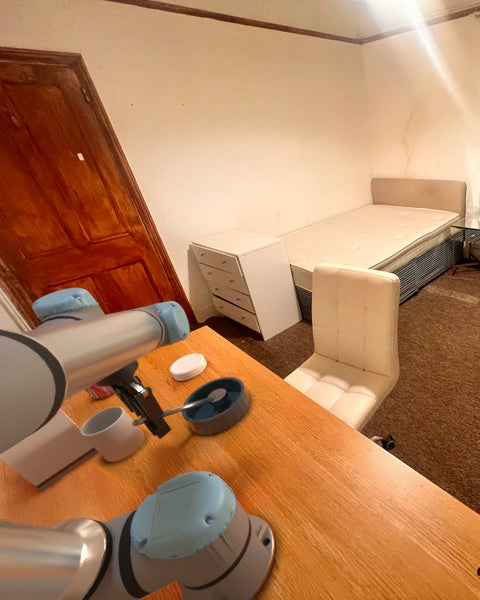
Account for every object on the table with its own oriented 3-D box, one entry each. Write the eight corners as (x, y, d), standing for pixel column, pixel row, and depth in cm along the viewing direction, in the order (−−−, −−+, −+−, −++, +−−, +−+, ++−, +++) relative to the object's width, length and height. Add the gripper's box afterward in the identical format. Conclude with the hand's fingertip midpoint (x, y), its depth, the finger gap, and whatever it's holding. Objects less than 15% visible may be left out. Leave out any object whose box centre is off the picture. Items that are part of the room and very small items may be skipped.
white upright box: (84, 433, 85) (-13, 333, 67) (100, 450, 80) (-1, 347, 62) (28, 469, 77) (-101, 366, 59) (41, 491, 72) (-95, 386, 54)
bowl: (218, 444, 79) (209, 429, 76) (178, 426, 85) (168, 412, 82) (262, 398, 91) (256, 384, 88) (224, 385, 97) (217, 371, 94)
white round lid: (204, 356, 110) (200, 348, 108) (210, 370, 103) (206, 363, 102) (172, 370, 105) (167, 362, 103) (176, 386, 98) (171, 378, 96)
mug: (152, 438, 82) (131, 411, 77) (118, 467, 76) (91, 440, 70) (126, 425, 87) (103, 398, 81) (90, 451, 80) (63, 425, 74)
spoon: (220, 391, 91) (203, 360, 84) (232, 395, 89) (215, 364, 82) (152, 452, 75) (124, 420, 69) (164, 458, 74) (137, 426, 67)
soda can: (97, 388, 100) (74, 360, 94) (123, 380, 102) (103, 353, 96) (89, 404, 94) (64, 375, 88) (117, 395, 97) (95, 367, 90)
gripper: (148, 356, 63) (196, 428, 75) (107, 341, 68) (159, 411, 80) (107, 382, 57) (166, 456, 69) (66, 364, 62) (128, 436, 74)
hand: (162, 432), depth 75 cm, fingers closed on spoon
